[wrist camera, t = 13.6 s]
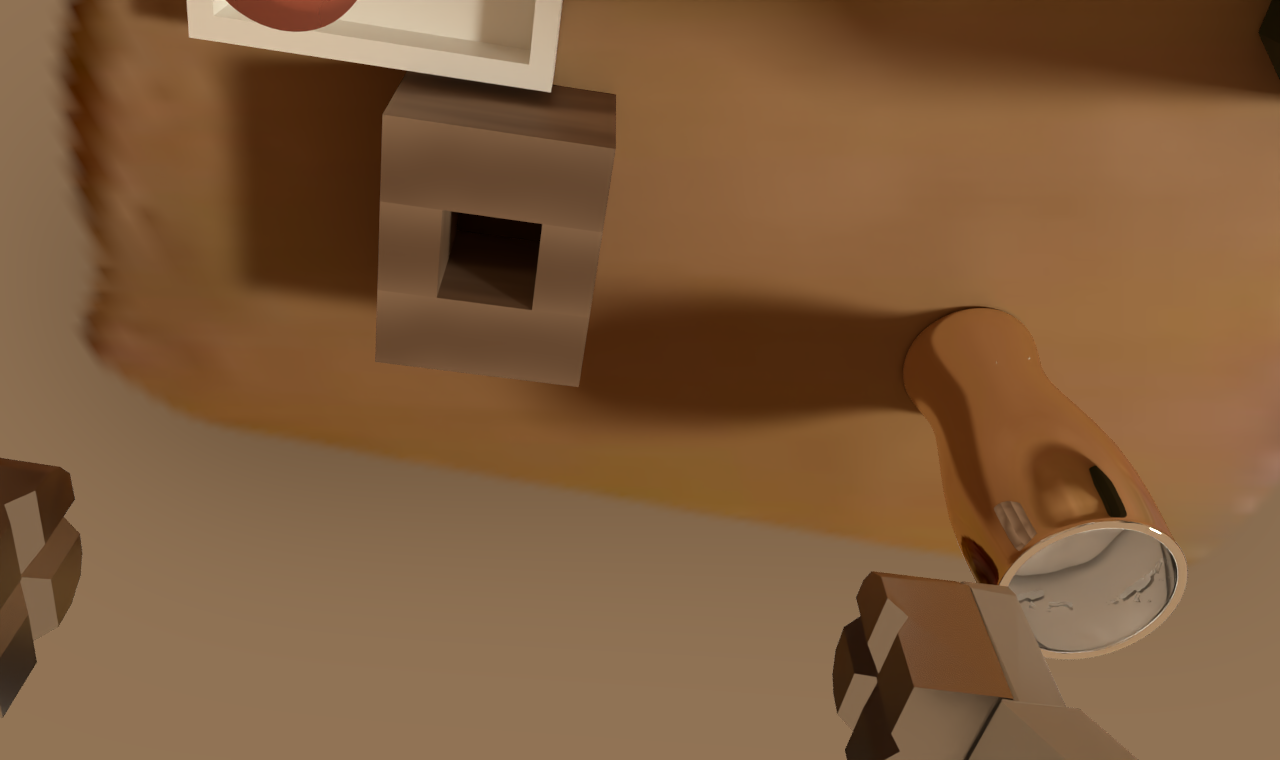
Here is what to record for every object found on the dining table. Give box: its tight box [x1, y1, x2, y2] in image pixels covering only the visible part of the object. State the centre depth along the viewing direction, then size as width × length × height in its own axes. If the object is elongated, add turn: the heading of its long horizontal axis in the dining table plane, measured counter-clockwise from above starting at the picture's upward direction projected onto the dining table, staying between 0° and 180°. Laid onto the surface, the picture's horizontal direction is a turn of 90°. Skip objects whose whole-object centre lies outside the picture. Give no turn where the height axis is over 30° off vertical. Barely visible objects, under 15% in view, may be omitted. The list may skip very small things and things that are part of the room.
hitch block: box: [375, 71, 616, 387], centre depth 41 cm, size 10×8×6 cm
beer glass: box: [903, 308, 1188, 660], centre depth 42 cm, size 7×7×15 cm
